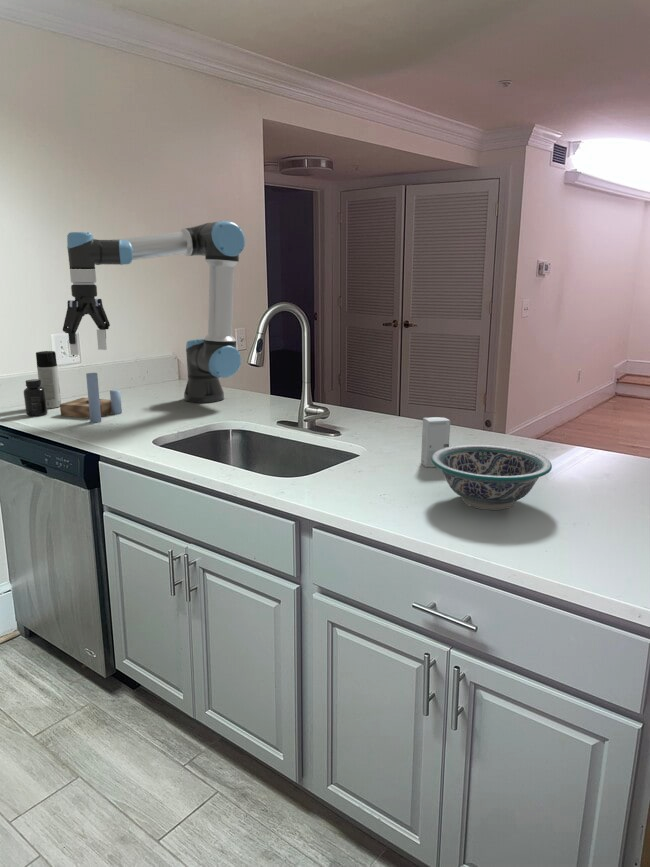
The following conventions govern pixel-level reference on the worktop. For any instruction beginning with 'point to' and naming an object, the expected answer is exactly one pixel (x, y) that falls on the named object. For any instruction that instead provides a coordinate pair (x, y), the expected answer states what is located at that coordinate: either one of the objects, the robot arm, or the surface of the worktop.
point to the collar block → (83, 408)
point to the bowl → (490, 473)
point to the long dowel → (93, 397)
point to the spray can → (49, 377)
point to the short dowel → (115, 401)
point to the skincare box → (434, 438)
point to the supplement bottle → (35, 398)
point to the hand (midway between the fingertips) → (89, 352)
